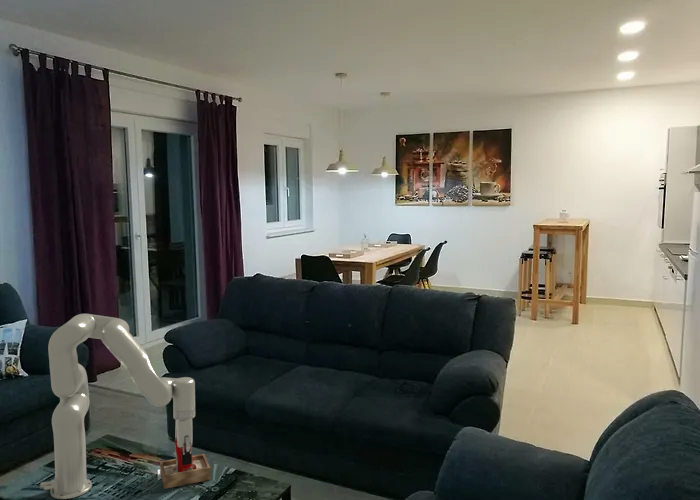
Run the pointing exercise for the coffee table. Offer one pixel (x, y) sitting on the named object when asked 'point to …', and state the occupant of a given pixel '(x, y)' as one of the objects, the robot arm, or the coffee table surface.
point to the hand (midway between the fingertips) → (184, 458)
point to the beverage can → (179, 459)
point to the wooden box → (187, 477)
